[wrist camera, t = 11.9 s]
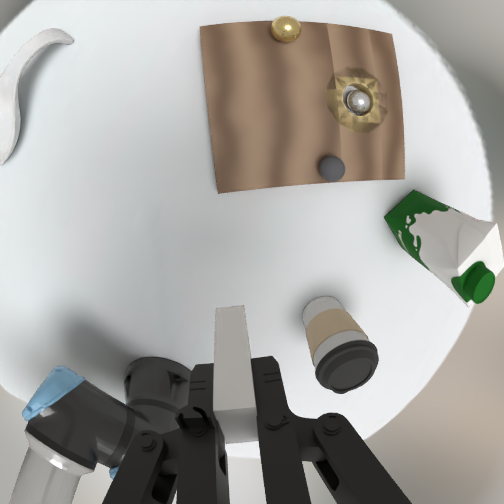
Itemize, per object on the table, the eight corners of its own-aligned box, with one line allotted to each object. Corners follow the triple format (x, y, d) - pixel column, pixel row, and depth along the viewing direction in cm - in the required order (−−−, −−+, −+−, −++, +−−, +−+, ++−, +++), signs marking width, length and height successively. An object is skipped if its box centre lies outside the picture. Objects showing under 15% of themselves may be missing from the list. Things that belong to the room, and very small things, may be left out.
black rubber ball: (316, 180, 34) (324, 184, 31) (315, 155, 33) (323, 157, 30) (339, 178, 34) (349, 183, 31) (338, 154, 33) (348, 156, 30)
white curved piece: (11, 177, 32) (-16, 186, 25) (-19, 141, 28) (-45, 147, 21) (88, 49, 26) (64, 37, 20) (50, 22, 22) (26, 11, 16)
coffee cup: (315, 282, 43) (350, 345, 29) (356, 301, 45) (396, 359, 32) (285, 325, 46) (306, 394, 32) (327, 339, 48) (354, 402, 34)
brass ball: (270, 45, 27) (275, 36, 24) (267, 22, 26) (271, 11, 22) (299, 45, 27) (307, 37, 24) (295, 22, 26) (302, 12, 22)
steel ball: (362, 120, 32) (368, 112, 33) (370, 102, 29) (376, 94, 30) (340, 108, 32) (348, 101, 34) (347, 90, 29) (355, 83, 31)
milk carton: (376, 216, 40) (464, 278, 21) (415, 181, 38) (512, 220, 19) (399, 254, 43) (475, 322, 24) (434, 221, 41) (518, 272, 22)
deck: (218, 189, 36) (218, 193, 34) (201, 33, 27) (199, 26, 25) (395, 176, 37) (404, 179, 35) (383, 38, 28) (391, 34, 26)
